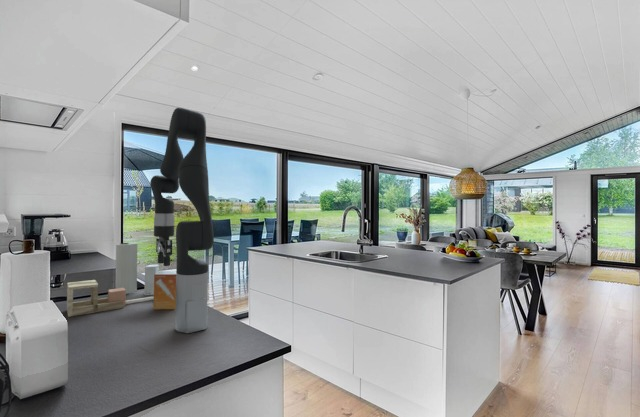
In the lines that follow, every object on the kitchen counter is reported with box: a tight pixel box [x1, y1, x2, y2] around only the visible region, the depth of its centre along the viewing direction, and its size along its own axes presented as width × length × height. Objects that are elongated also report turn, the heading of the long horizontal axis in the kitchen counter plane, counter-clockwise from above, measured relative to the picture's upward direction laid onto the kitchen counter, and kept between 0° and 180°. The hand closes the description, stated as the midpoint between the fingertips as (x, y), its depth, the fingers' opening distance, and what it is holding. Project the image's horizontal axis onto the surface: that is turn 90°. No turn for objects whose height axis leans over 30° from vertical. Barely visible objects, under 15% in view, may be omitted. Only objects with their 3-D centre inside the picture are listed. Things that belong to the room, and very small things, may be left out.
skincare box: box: [143, 264, 160, 296], centre depth 139 cm, size 6×4×12 cm
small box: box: [152, 270, 176, 310], centre depth 121 cm, size 8×6×13 cm
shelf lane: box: [66, 279, 124, 318], centre depth 117 cm, size 9×16×10 cm, turn 130°
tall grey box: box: [114, 242, 138, 295], centre depth 138 cm, size 7×6×21 cm
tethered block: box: [107, 288, 154, 307], centre depth 126 cm, size 5×20×6 cm, turn 131°
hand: (163, 264), depth 132 cm, fingers open, 8 cm apart
